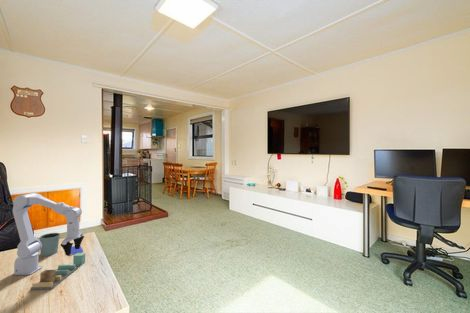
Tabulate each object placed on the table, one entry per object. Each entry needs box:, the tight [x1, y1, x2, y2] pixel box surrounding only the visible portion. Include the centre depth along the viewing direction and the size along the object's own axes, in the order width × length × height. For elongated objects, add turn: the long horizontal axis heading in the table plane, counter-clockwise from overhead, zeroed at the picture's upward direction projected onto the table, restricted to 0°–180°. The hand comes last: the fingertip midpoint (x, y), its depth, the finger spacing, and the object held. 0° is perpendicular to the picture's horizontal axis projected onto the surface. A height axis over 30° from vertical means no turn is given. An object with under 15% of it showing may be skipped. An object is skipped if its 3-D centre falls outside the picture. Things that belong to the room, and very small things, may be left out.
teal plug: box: [72, 252, 86, 266], centre depth 127 cm, size 5×3×6 cm, turn 94°
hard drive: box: [67, 245, 84, 257], centre depth 144 cm, size 2×8×12 cm
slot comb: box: [30, 263, 78, 291], centre depth 112 cm, size 10×18×3 cm, turn 4°
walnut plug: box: [39, 269, 57, 283], centre depth 106 cm, size 5×3×6 cm, turn 94°
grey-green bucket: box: [39, 232, 61, 257], centre depth 140 cm, size 10×10×12 cm
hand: (72, 251), depth 122 cm, fingers open, 7 cm apart
